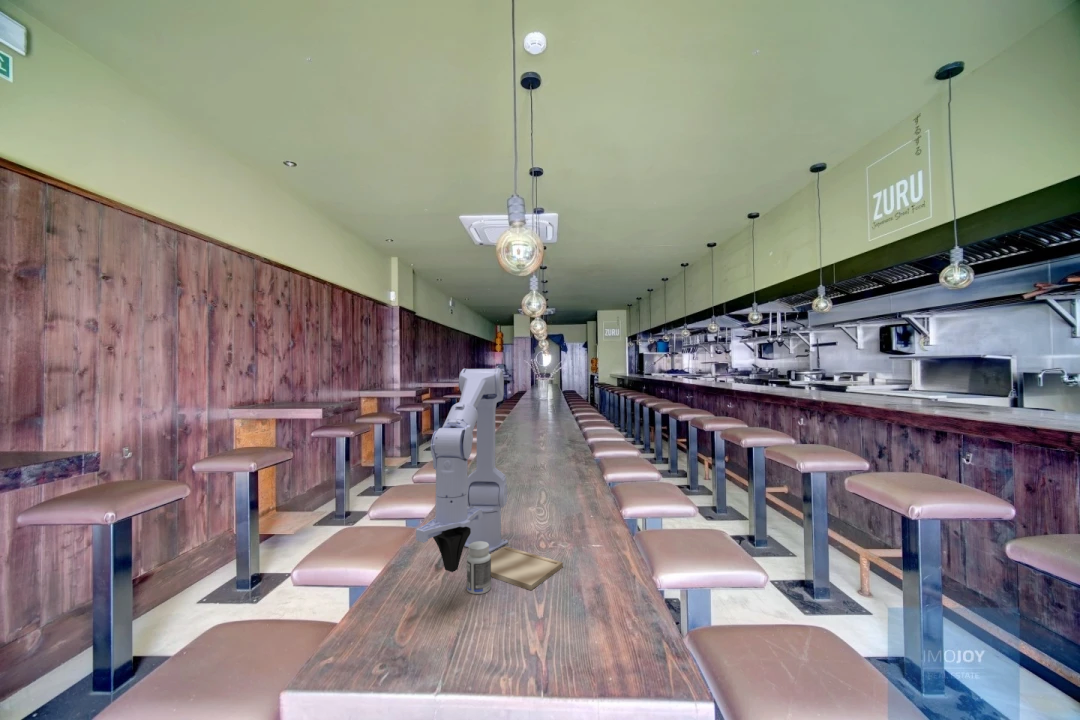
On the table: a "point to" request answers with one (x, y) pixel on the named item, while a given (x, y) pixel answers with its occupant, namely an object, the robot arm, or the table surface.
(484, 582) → the pill bottle
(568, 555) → the table surface
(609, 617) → the table surface
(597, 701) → the table surface
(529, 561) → the beech board
